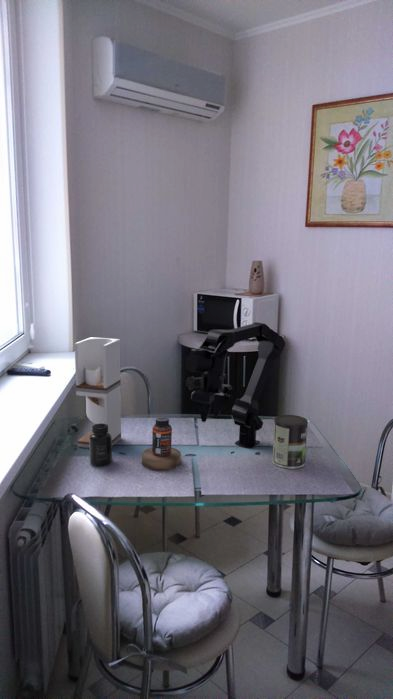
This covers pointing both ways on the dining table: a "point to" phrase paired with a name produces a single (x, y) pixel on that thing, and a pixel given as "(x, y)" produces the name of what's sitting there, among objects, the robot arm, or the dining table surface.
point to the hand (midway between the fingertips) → (210, 418)
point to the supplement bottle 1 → (100, 445)
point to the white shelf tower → (100, 383)
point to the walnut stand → (161, 460)
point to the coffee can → (289, 441)
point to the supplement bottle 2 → (161, 437)
